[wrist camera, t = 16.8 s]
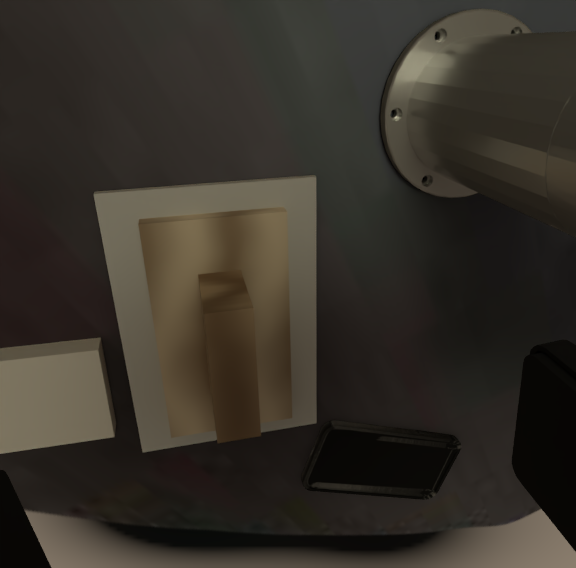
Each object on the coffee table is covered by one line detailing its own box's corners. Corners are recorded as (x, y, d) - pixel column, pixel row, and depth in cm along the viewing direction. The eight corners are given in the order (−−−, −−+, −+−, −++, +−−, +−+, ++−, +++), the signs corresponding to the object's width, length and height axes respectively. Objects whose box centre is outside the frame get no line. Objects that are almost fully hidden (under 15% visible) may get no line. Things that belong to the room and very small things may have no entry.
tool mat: (313, 174, 37) (316, 176, 36) (314, 418, 46) (316, 423, 45) (94, 191, 34) (93, 194, 33) (143, 447, 43) (142, 452, 43)
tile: (98, 350, 37) (114, 436, 40) (101, 335, 39) (116, 420, 42) (-40, 365, 35) (-11, 455, 38) (-31, 349, 37) (-3, 436, 40)
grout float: (283, 206, 36) (308, 240, 30) (289, 409, 44) (310, 470, 38) (139, 219, 35) (133, 257, 28) (171, 428, 42) (172, 495, 36)
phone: (433, 500, 53) (299, 490, 48) (428, 491, 54) (297, 481, 49) (465, 440, 50) (327, 423, 46) (459, 432, 51) (324, 415, 47)
